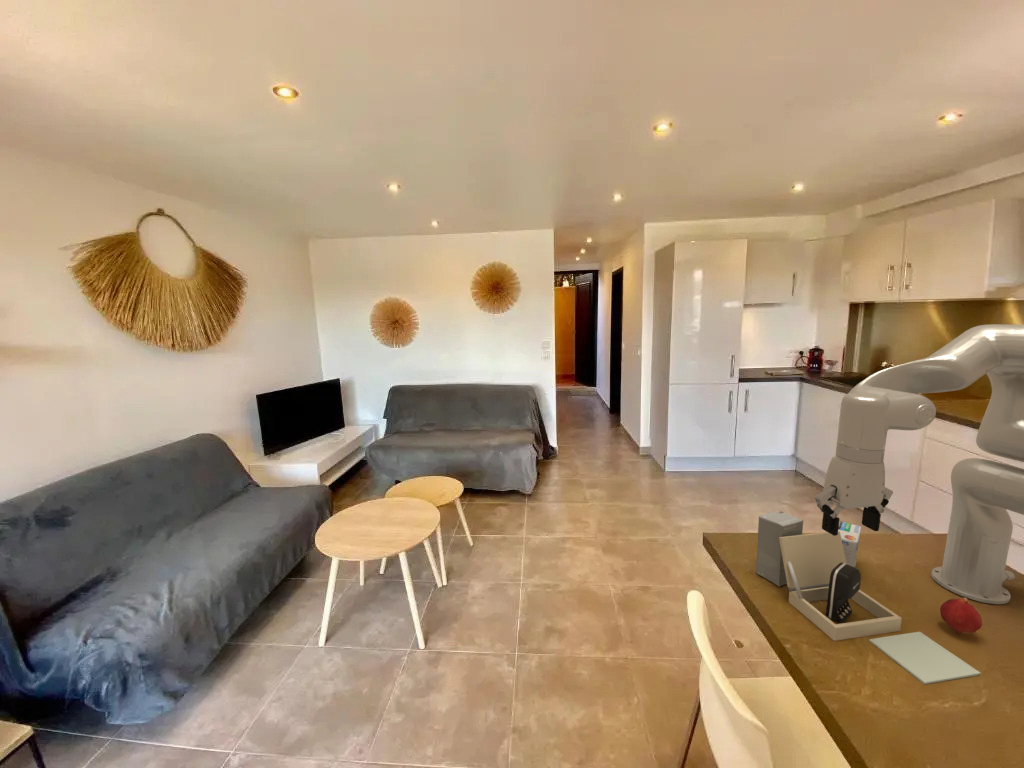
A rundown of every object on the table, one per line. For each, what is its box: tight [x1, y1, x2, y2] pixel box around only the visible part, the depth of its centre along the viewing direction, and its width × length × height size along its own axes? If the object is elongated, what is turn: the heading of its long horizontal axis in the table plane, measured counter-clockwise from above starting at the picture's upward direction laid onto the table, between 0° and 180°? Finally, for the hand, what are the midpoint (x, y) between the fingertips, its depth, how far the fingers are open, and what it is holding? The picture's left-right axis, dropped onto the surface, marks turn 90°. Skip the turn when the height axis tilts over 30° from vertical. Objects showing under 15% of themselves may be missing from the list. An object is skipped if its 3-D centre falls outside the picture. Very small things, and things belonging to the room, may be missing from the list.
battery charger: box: [825, 562, 862, 623], centre depth 89 cm, size 7×4×11 cm, turn 123°
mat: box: [868, 631, 982, 685], centre depth 79 cm, size 12×10×1 cm
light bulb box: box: [825, 520, 862, 568], centre depth 105 cm, size 11×7×11 cm, turn 136°
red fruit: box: [939, 597, 983, 634], centre depth 84 cm, size 6×6×8 cm
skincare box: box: [755, 510, 804, 587], centre depth 103 cm, size 8×7×16 cm
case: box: [779, 531, 903, 642], centre depth 91 cm, size 16×16×14 cm
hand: (849, 530), depth 86 cm, fingers open, 9 cm apart
